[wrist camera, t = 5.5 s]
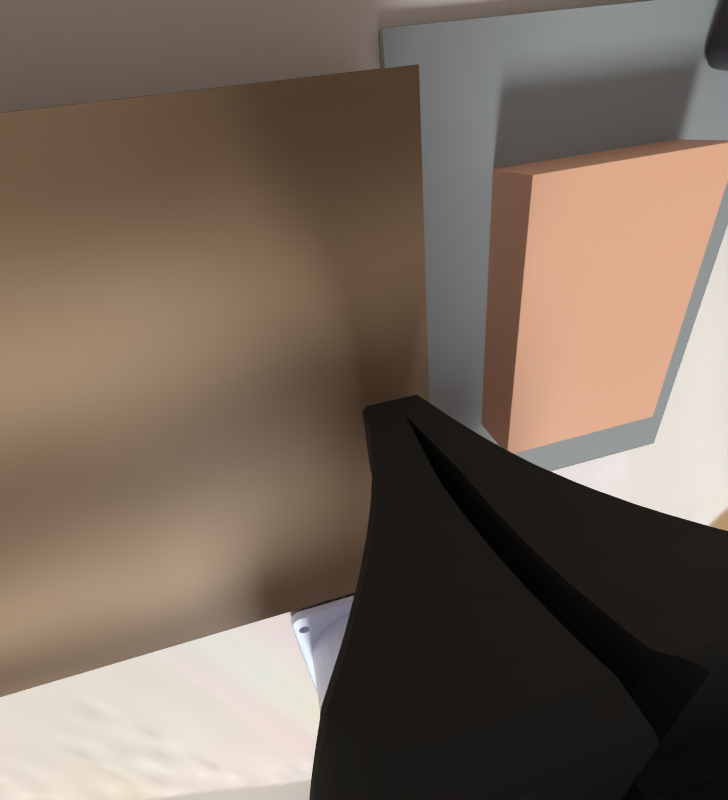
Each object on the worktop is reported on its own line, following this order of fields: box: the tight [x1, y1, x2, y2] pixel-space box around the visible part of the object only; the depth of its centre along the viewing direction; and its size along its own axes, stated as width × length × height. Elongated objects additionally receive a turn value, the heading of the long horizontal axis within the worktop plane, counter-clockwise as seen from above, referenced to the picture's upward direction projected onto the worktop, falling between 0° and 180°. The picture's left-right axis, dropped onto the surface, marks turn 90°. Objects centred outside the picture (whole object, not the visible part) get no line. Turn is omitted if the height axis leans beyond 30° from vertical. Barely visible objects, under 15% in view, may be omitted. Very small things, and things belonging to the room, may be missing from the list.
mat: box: [379, 0, 728, 471], centre depth 15 cm, size 16×12×1 cm
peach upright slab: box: [481, 139, 728, 454], centre depth 14 cm, size 9×6×2 cm, turn 6°
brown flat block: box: [0, 64, 429, 697], centre depth 12 cm, size 14×16×4 cm
